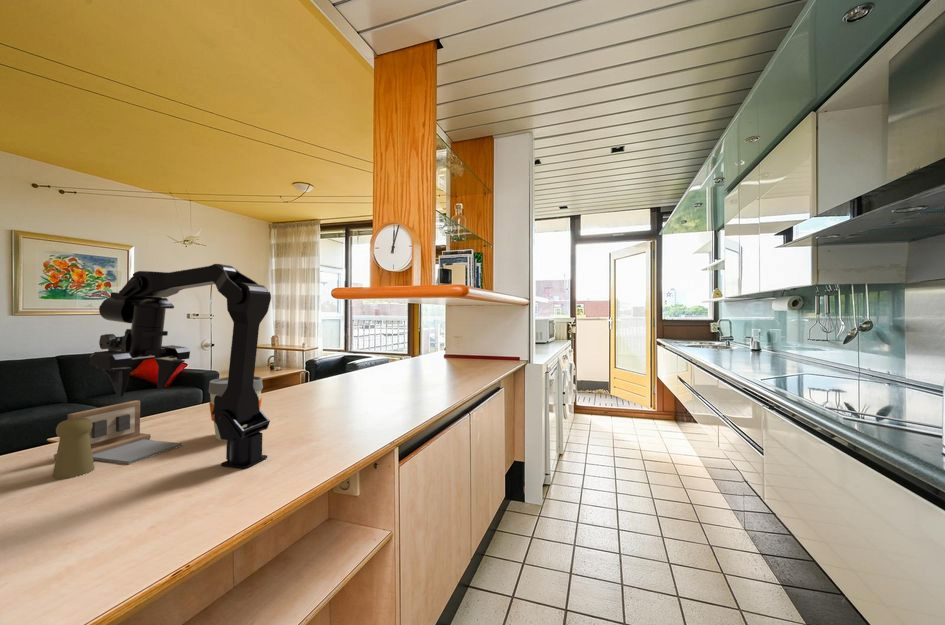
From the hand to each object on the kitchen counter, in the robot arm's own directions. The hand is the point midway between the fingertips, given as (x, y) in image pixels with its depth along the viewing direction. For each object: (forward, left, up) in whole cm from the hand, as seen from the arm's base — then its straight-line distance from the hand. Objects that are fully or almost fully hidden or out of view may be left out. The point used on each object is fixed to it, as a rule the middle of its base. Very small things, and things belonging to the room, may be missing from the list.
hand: (140, 392), depth 88 cm
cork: (+2, +11, -15) cm, 18 cm away
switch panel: (+11, -1, -14) cm, 18 cm away
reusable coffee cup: (-10, -17, -15) cm, 24 cm away
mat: (+2, -1, -14) cm, 14 cm away
